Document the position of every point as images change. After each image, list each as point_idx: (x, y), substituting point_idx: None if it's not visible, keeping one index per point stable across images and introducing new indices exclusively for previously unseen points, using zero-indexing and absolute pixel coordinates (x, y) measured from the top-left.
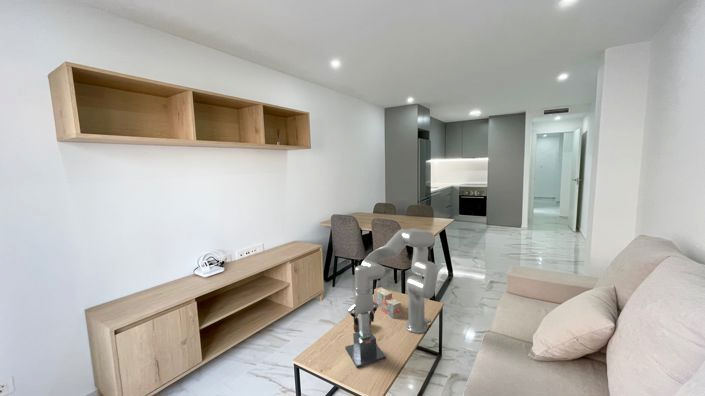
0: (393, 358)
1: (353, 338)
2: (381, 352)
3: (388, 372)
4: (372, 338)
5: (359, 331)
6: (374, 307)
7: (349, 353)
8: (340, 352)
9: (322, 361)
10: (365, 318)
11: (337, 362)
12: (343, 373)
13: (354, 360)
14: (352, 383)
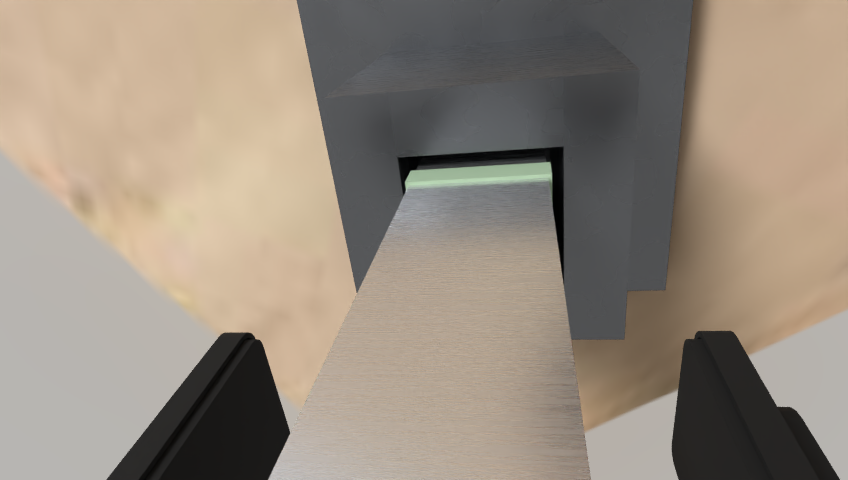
0: (731, 292)
1: (348, 80)
2: (655, 228)
3: (586, 400)
4: (572, 320)
5: (403, 203)
6: None
7: (321, 117)
8: (243, 16)
9: (72, 96)
10: None
11: (209, 158)
12: (252, 291)
13: (349, 235)
14: (303, 387)
